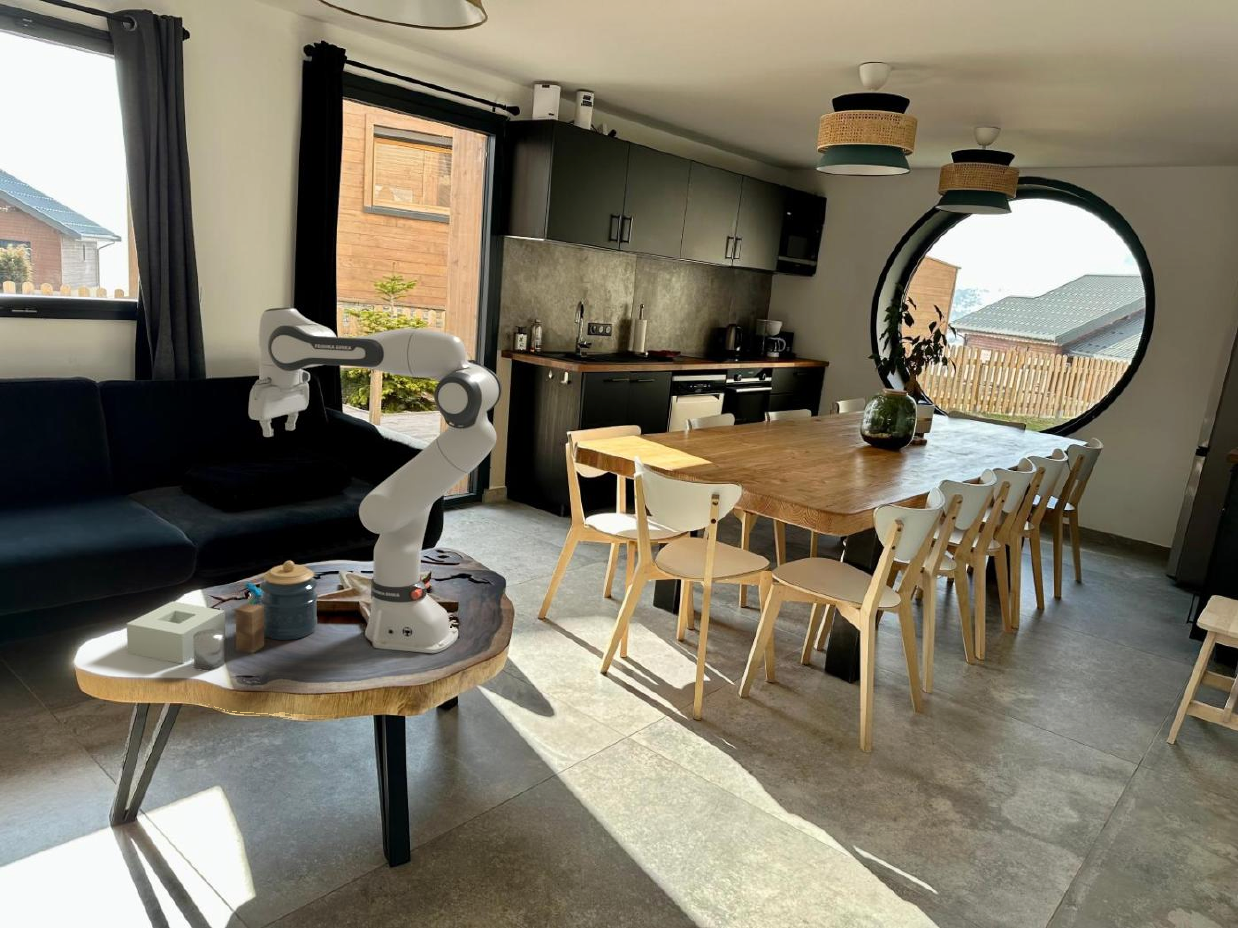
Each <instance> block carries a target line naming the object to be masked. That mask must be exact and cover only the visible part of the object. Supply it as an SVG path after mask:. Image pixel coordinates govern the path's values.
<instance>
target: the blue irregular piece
mask: <svg viewBox="0 0 1238 928" xmlns="http://www.w3.org/2000/svg"><path fill="white" fill-rule="evenodd" d="M245 587H246V588H247V590H248V591H249V592H250V593H252V594H253V595H252V598H251V599H250V600H249V601H248V602H247V603H251V604H257V605H259V604H261V602H260V597H261V595H262V590H261V589H260V587H257V585H255V584H252V583H251V582H247V583H246V584H245Z"/></svg>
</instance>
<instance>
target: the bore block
mask: <svg viewBox="0 0 1238 928" xmlns="http://www.w3.org/2000/svg"><path fill="white" fill-rule="evenodd" d="M206 629H218V630H221V631H223V632H224V640H225V639H226V611H225V610H222V609H216V608H211V607H206V606H201V605H194V604H189V603H184V602H178V601H175V600H174V601H173V600H172V601H170V602H168V603H166V604H163V605H162V606H160V607H158V608H156V609H154V610H152V611H150V612H148V613H145V614H143V615H141V616H139V617H138V618H136V619H134V620H131V621H129V622H127V623H126V639H127V641H126V642H127V643H126V644H127V653H128V654H131V655H135V656H136V655H137V656H141V657H147V658H151V659H156V660H162V661H167V662H172V663H177V664H181V663H182V664H181V665H183V664H185V662H186V663H187V662H188V661H190V659H191V658H192V659H194V644H193V635H194V634H195V633H197V632H199V631H202V630H206ZM192 659H191V660H192Z"/></svg>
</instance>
